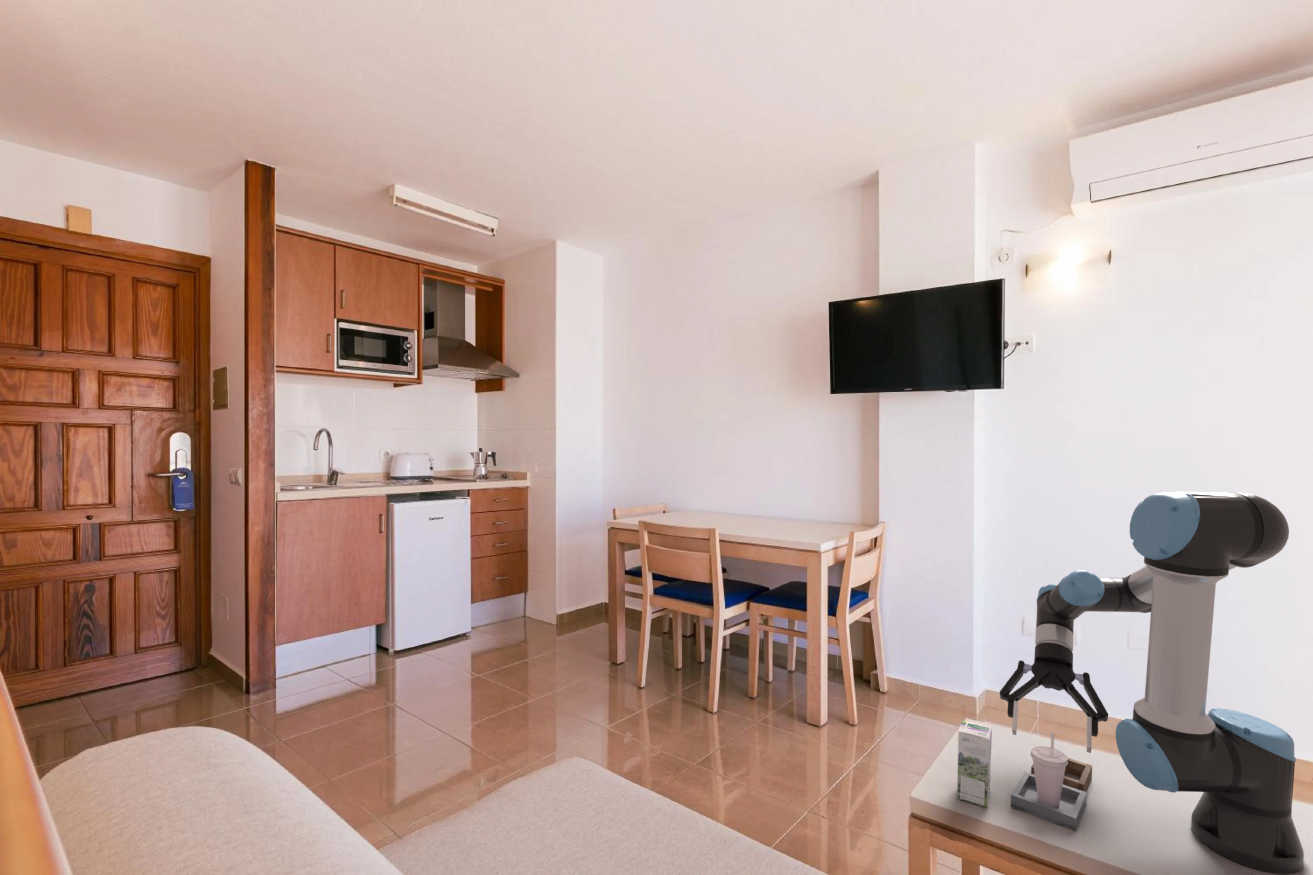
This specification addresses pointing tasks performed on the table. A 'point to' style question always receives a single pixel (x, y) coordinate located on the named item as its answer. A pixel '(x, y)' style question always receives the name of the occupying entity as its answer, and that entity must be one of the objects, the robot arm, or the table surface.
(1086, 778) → the collar
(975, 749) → the syrup box
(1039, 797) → the smoothie
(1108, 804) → the table surface
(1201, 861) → the table surface
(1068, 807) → the tray
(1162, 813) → the table surface
